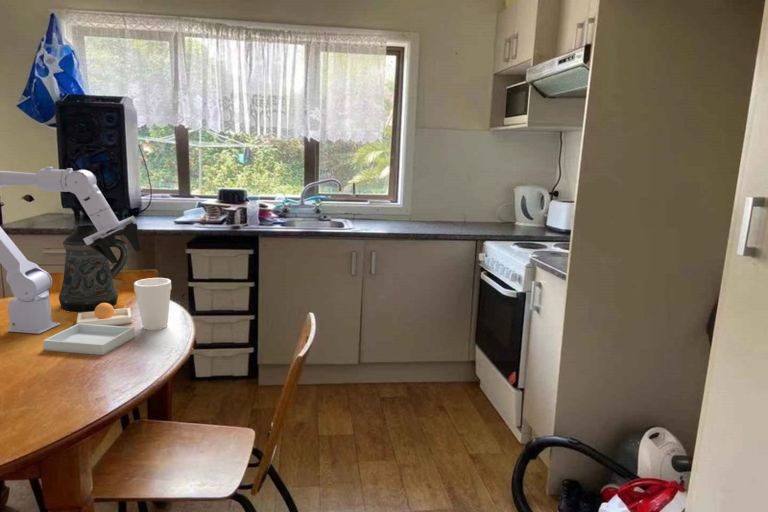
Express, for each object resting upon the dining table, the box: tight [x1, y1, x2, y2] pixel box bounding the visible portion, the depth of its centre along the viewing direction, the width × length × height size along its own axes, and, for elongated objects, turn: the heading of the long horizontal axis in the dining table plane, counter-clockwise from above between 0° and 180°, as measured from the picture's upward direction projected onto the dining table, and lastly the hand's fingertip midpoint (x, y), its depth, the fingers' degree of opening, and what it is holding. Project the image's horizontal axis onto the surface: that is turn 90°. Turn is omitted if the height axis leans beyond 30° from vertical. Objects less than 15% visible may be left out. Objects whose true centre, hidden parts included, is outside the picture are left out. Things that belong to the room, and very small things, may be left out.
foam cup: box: [133, 277, 172, 331], centre depth 150 cm, size 10×9×13 cm
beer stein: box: [58, 224, 129, 313], centre depth 167 cm, size 16×19×25 cm
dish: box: [76, 307, 133, 326], centre depth 154 cm, size 14×9×2 cm
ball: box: [93, 303, 114, 319], centre depth 153 cm, size 5×5×5 cm
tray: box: [42, 323, 135, 356], centre depth 137 cm, size 16×13×3 cm
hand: (127, 256), depth 146 cm, fingers open, 7 cm apart
